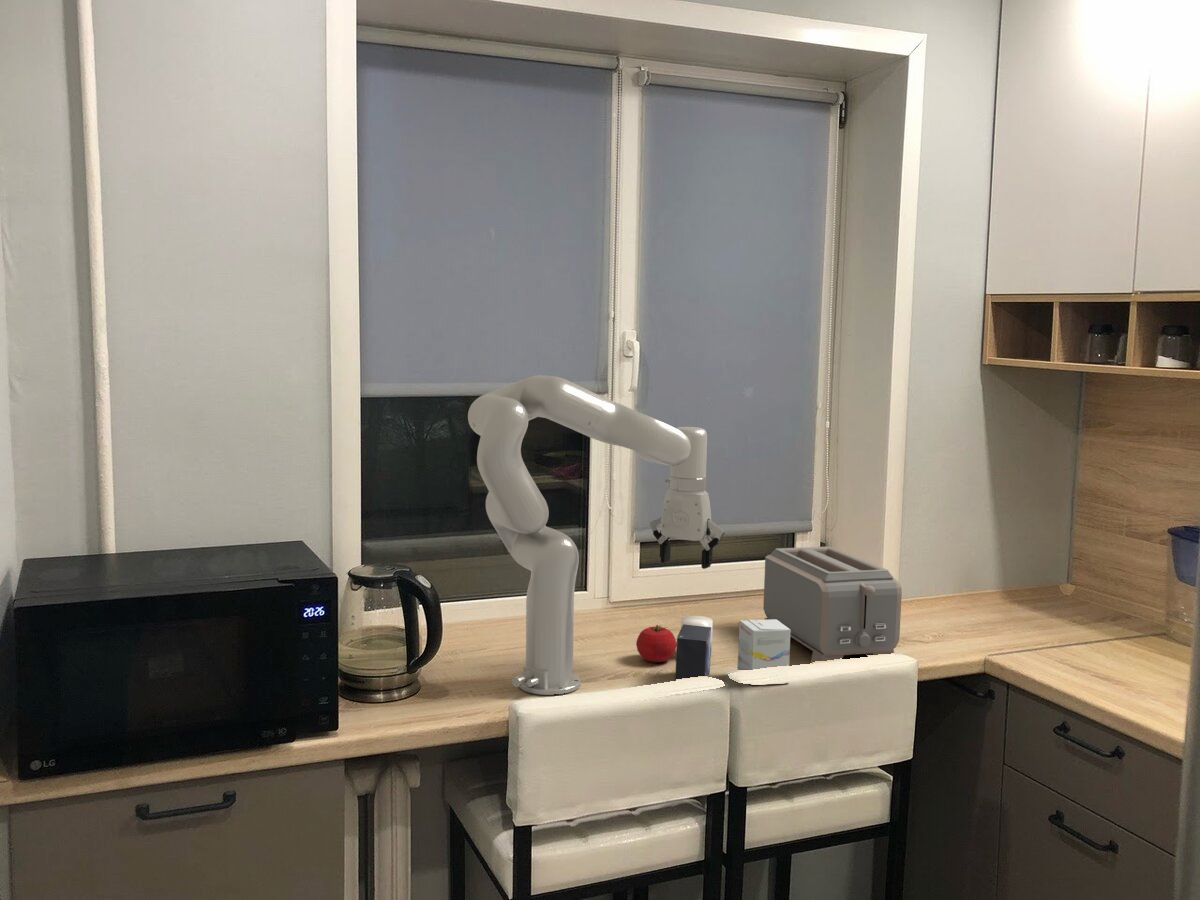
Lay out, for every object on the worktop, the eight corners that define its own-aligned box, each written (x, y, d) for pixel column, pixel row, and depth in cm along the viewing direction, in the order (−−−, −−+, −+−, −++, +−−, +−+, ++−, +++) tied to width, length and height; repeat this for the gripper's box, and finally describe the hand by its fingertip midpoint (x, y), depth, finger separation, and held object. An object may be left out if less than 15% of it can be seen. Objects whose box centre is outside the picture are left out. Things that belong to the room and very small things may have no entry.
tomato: (656, 651, 228) (657, 617, 227) (684, 661, 221) (685, 625, 220) (627, 659, 222) (628, 623, 221) (655, 669, 215) (656, 633, 214)
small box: (706, 691, 203) (707, 639, 202) (673, 688, 204) (675, 637, 203) (711, 674, 213) (712, 625, 212) (680, 671, 214) (681, 623, 213)
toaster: (827, 674, 215) (832, 579, 213) (759, 628, 248) (762, 546, 246) (907, 668, 220) (912, 575, 218) (830, 624, 253) (833, 544, 251)
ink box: (789, 684, 207) (792, 628, 206) (750, 686, 206) (752, 630, 204) (774, 671, 216) (776, 617, 214) (736, 673, 214) (738, 618, 213)
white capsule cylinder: (702, 661, 221) (703, 626, 220) (674, 655, 225) (675, 620, 224) (717, 653, 227) (718, 619, 226) (689, 648, 231) (690, 613, 230)
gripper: (643, 483, 216) (641, 562, 218) (717, 491, 207) (715, 573, 209) (660, 479, 222) (658, 556, 224) (732, 487, 213) (729, 566, 215)
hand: (685, 564), depth 216 cm, fingers open, 9 cm apart
